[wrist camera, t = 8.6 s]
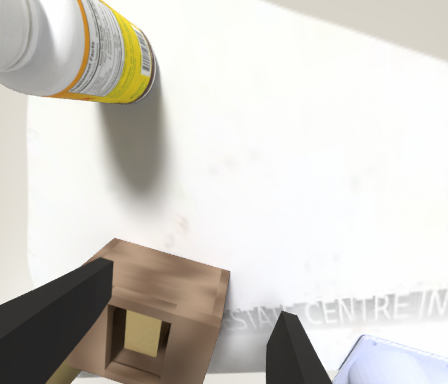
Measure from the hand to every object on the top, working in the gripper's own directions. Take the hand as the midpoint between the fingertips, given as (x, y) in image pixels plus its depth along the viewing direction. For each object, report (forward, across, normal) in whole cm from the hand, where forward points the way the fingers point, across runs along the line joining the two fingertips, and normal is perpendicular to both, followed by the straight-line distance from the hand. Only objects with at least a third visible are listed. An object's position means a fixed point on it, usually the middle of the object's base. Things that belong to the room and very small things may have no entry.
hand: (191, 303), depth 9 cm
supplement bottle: (+11, +10, -9) cm, 17 cm away
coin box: (+10, +4, +12) cm, 16 cm away
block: (+10, +4, +11) cm, 16 cm away
